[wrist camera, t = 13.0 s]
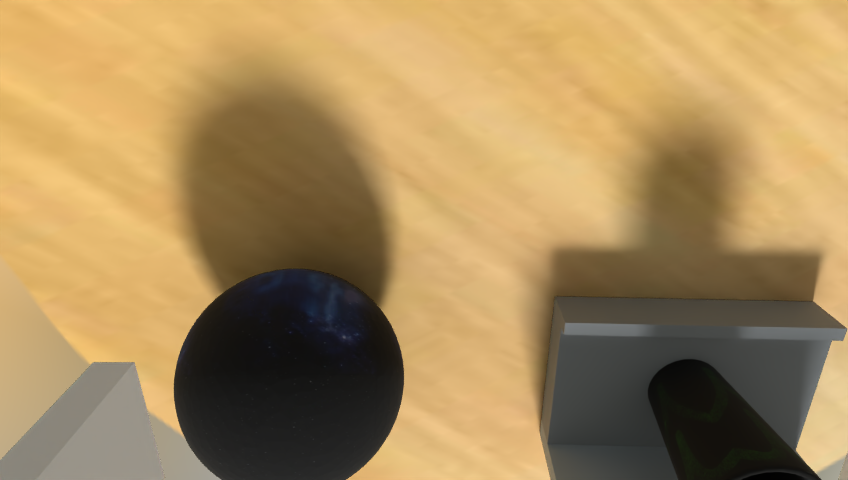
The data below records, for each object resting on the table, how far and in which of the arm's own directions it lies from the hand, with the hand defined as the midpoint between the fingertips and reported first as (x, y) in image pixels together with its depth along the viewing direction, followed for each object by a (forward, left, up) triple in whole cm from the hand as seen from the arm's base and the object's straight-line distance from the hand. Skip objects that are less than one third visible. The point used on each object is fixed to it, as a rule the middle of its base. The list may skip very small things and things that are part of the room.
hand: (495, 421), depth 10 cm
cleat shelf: (+21, +18, -31) cm, 42 cm away
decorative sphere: (+17, -11, -32) cm, 37 cm away
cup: (+20, +18, -29) cm, 40 cm away
